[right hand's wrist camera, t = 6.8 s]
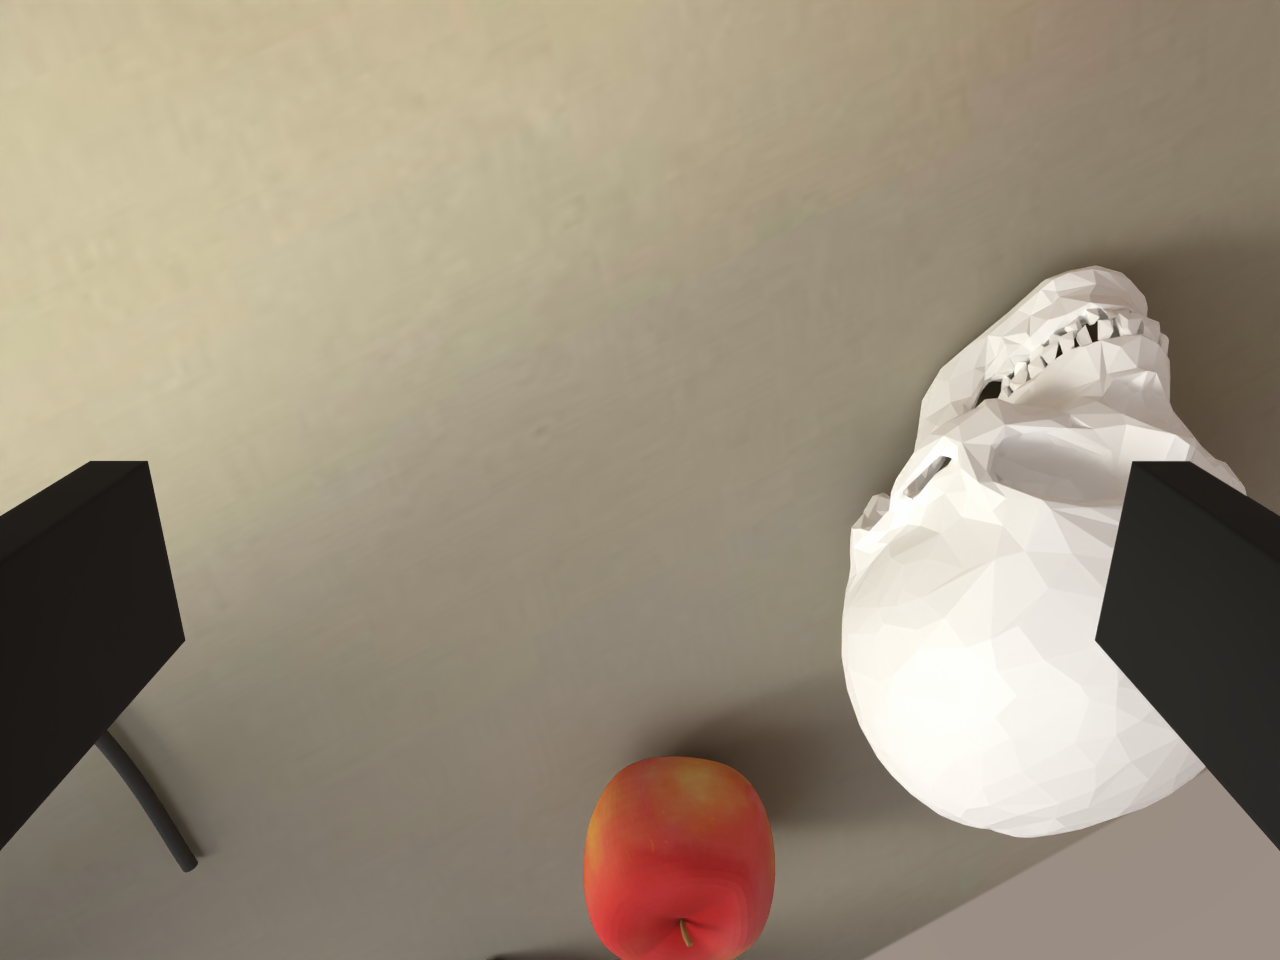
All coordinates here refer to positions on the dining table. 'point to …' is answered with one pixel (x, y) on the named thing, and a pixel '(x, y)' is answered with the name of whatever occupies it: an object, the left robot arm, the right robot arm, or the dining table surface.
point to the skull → (1019, 572)
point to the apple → (679, 862)
